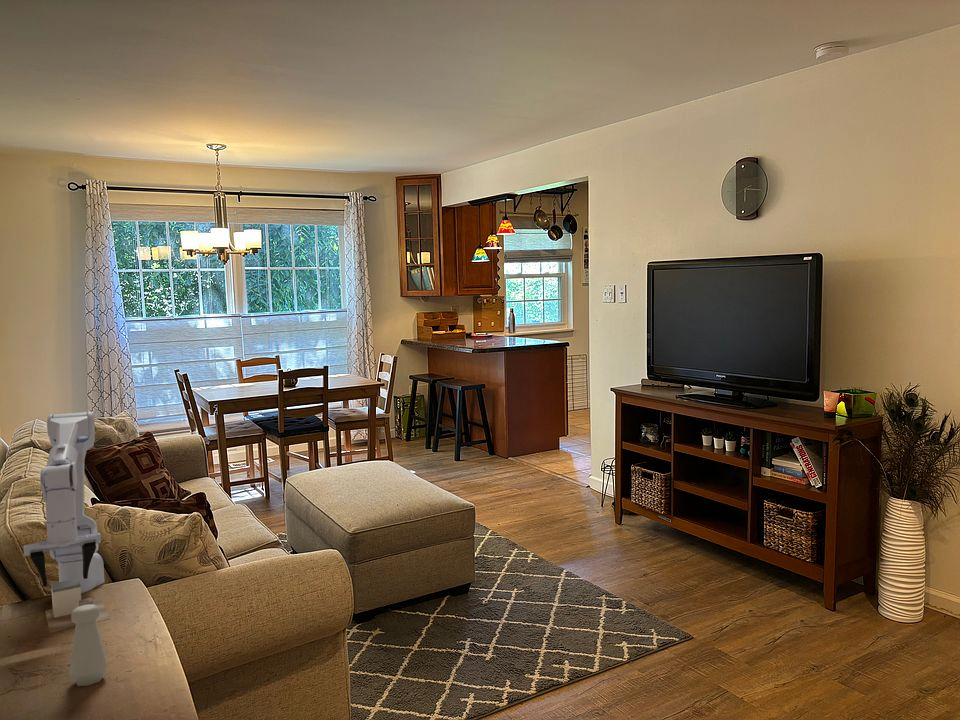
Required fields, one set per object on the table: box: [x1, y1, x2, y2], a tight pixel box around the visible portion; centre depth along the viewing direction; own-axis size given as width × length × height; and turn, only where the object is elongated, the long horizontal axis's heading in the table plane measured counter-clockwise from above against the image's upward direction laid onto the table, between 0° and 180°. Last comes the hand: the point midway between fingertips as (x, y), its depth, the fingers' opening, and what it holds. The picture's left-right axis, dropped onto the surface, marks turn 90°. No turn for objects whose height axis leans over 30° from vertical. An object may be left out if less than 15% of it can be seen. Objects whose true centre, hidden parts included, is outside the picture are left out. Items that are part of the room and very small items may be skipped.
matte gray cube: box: [50, 579, 82, 618], centre depth 158 cm, size 5×5×6 cm
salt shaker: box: [68, 604, 108, 687], centre depth 126 cm, size 6×6×13 cm
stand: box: [44, 597, 111, 634], centre depth 156 cm, size 16×11×5 cm
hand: (65, 581), depth 158 cm, fingers open, 7 cm apart
